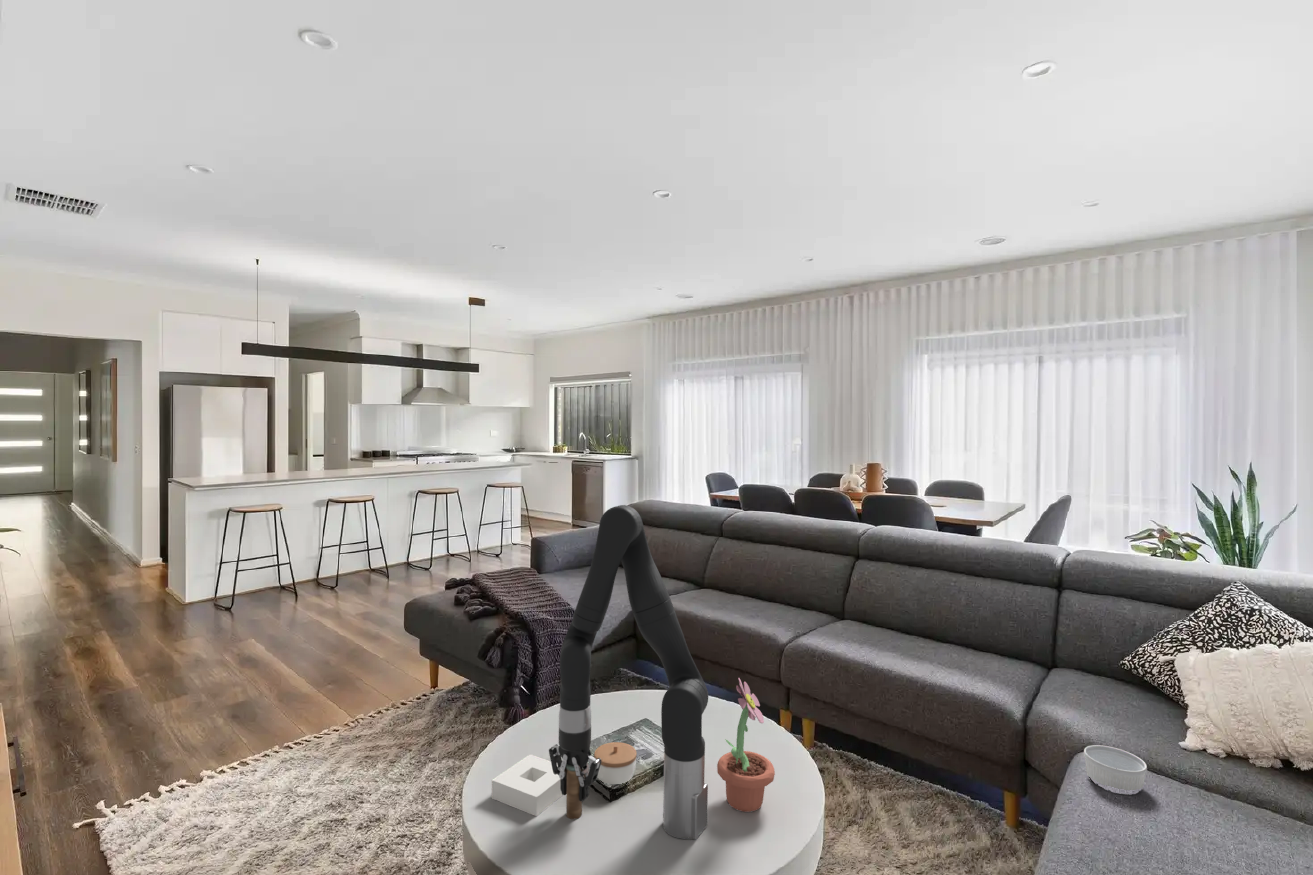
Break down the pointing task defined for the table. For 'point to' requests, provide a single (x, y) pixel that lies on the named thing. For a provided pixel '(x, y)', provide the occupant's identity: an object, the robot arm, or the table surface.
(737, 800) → the decorative flower
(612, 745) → the lidded jar
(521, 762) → the socket block
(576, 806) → the walnut dowel
